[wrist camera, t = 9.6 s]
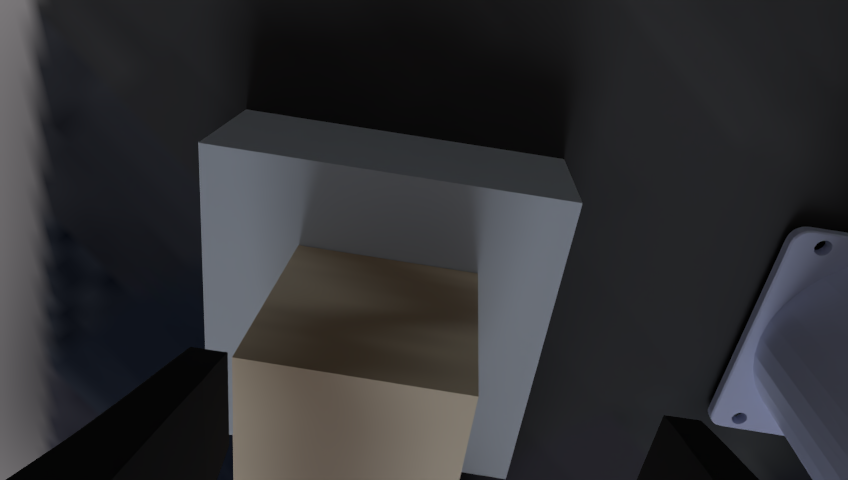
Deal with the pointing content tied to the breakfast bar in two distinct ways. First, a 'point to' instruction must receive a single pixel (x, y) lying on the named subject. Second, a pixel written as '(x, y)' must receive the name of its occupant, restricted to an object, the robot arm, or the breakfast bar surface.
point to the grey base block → (391, 237)
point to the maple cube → (357, 372)
